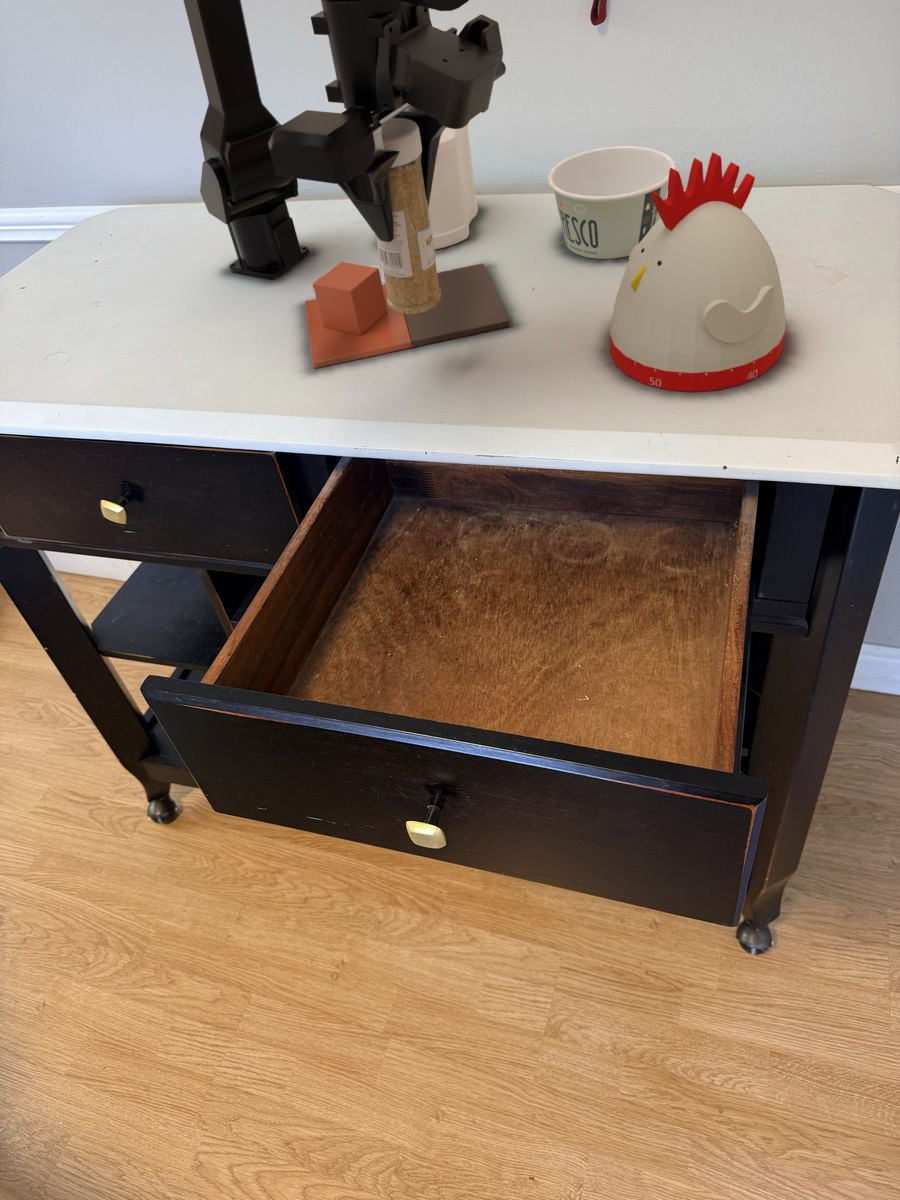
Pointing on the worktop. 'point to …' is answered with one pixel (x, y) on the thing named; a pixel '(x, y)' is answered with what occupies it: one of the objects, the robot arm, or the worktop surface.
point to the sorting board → (415, 320)
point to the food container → (609, 198)
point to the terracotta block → (350, 297)
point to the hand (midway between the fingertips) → (404, 226)
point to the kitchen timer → (700, 290)
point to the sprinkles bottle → (408, 225)
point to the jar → (452, 189)
